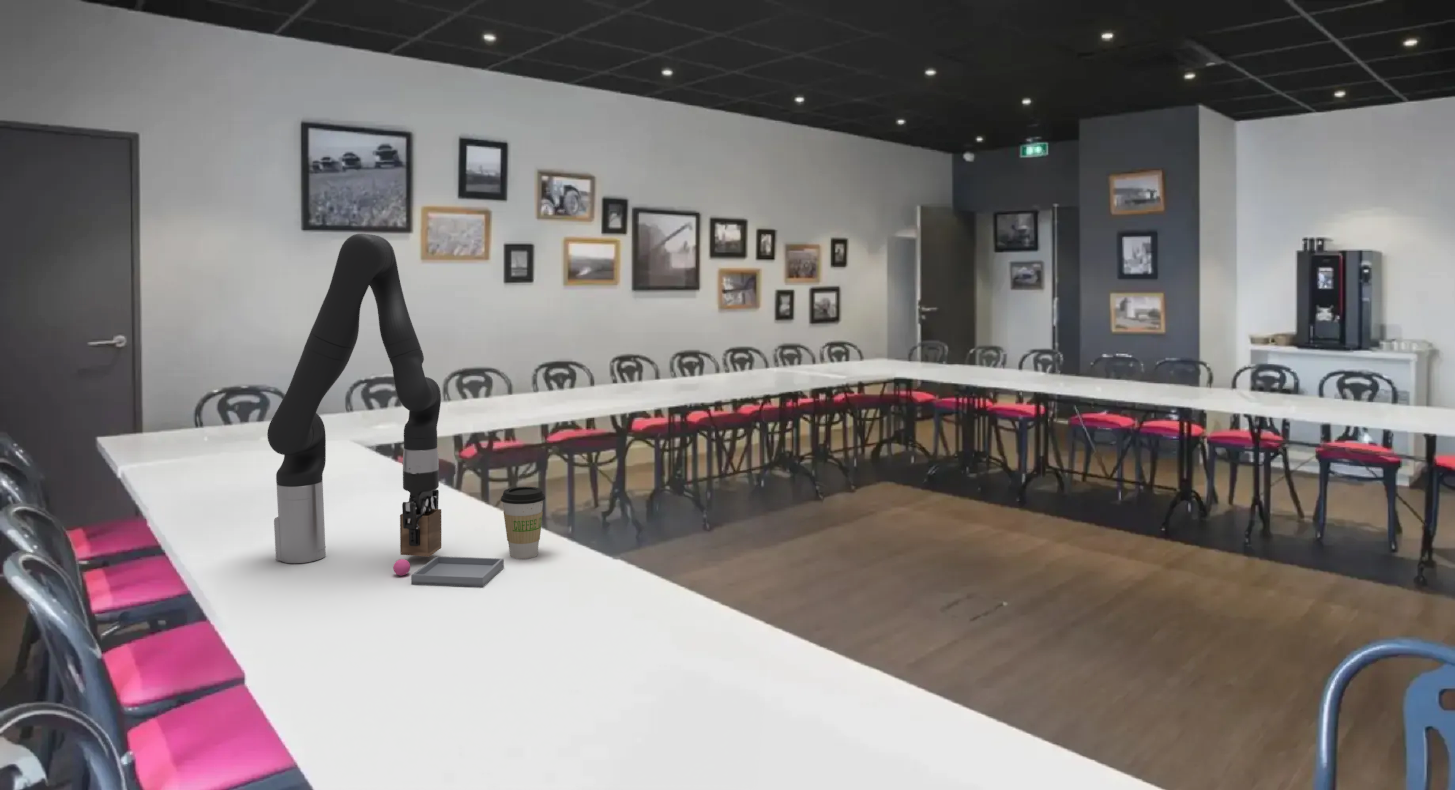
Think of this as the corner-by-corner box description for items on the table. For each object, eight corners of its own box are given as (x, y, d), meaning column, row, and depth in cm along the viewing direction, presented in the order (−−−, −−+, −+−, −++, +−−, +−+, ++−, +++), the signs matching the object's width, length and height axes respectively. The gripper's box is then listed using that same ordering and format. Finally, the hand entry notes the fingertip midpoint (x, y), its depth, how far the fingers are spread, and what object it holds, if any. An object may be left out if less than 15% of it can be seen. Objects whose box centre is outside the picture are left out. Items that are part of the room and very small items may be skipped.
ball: (390, 577, 185) (390, 561, 184) (397, 572, 188) (397, 556, 188) (406, 577, 185) (405, 562, 184) (413, 572, 188) (412, 557, 187)
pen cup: (400, 554, 194) (400, 514, 193) (413, 546, 201) (412, 507, 200) (429, 556, 194) (429, 516, 193) (441, 547, 200) (441, 509, 199)
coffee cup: (535, 562, 196) (534, 496, 194) (494, 559, 198) (492, 494, 196) (552, 550, 205) (551, 487, 204) (513, 547, 207) (512, 484, 206)
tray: (411, 584, 181) (411, 574, 180) (437, 565, 193) (436, 556, 193) (482, 587, 179) (482, 577, 179) (503, 567, 192) (503, 558, 192)
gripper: (418, 461, 202) (418, 531, 204) (389, 473, 188) (390, 549, 190) (449, 462, 202) (450, 533, 204) (423, 475, 187) (424, 551, 189)
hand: (421, 540), depth 197 cm, fingers closed on pen cup, 6 cm apart
